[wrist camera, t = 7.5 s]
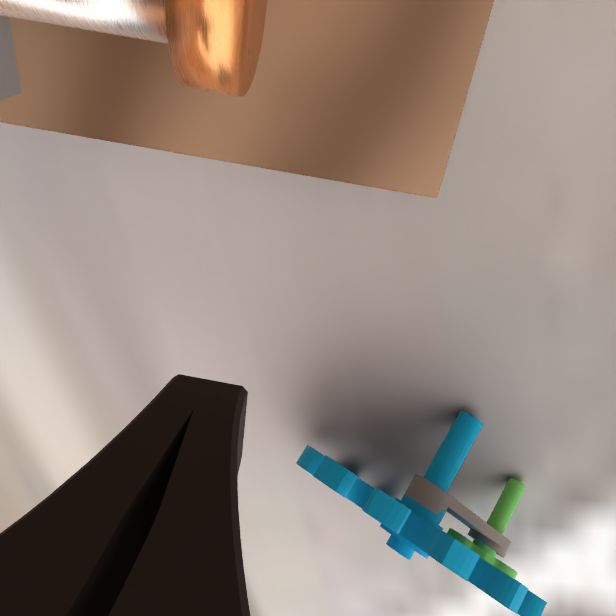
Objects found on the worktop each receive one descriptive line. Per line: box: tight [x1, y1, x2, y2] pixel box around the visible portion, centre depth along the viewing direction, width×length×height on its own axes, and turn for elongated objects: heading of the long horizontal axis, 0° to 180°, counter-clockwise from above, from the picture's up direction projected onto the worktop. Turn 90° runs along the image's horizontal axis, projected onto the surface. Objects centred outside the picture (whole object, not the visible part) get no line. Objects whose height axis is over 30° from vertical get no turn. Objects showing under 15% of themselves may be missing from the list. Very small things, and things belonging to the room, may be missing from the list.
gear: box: [297, 412, 547, 616], centre depth 21 cm, size 11×6×10 cm
